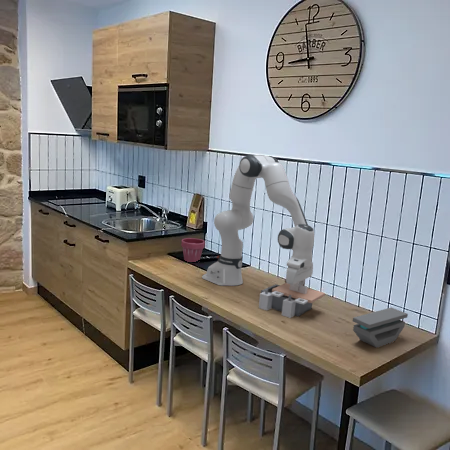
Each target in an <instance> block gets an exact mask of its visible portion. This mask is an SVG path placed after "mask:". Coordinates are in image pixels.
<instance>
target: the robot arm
mask: <svg viewBox="0 0 450 450" xmlns="http://www.w3.org/2000/svg"><path fill="white" fill-rule="evenodd" d="M257 179H263V181H264V185H265V190H266V194H267V197H268V199H269V200H270V202H272V203H273V204H275V205H277V206H280V207H282V208H284V209H285V210H287V211H288V212H289V214H290V216H291V219H292V222H293V224H294V226H293V227H288V228H283V229H281V230H280V231H279V232H278V234H277V243H278V245H279V247H280V248H282V249H285V250H292V255H291V257H290V258H289V259H288V260H287V262H286V266H287V268H286V274H285V275H286V276H285V279H286V282H287V283H288V284H291V285H294V286H295V287H294V290H295V291H298V290H299V285H303V284H304V282H305V283H306V280H307V279H309V278H311V277H312V276H313V274H314V273H313V272H314V271H313V270H314V262H313V260H312V259H313V248H314V245H315V230H314V228H313V227H312V226H310V225H309V224H308V221H307V219H306V216H305V214H304V211H303V208H302V206H301V203H300V200H299V199H298V197H297V196H296V195H295V194H294V193H293V190H292V188H291V186H290V182H289V178H288V176H287V173H286V170H285V167H284V166H283V164H282V163H280V162H279V160H278V159H277V158H276V157H274V156H272V155H271V156H270V155H265V154H257V155H256V154H253V155H252V154H248V155H245V156H243V157H242V158H241V159H240V162H239V165H238V166H237V167H236V170H235V173H234V176H233V179H232V183H231V187H230V191H229V196H228V197H229V200H230V201H231V202H232V204H231V205H232V206H231V209H230V210H229V209H228V210H223V211H220V212H219V213H218V214H216V215H215V216H214V219H213V222H214V223H213V224H214V227H215V229H216V230H217V231H218V232H219V235H220V239H221V251H220V254H218V255H217V256H216V259H217V261H215V262H214V263H212V264H211V265H209V266H208V268H207V270H206V273H204V274H203V275H202V276H201V278H202V279H203V280H205V281H208V282H209V283H210V282H211V283H213V284H215V285H218V286H232V287H233V286H240V285H242V284H243V283H244V281H243V276H242V275H243V274H242V266H243V249H244V248H243V247H244V246H243V245H244V244H243V243H244V242H243V241H242V240H241V238H240V237H239V231H241V230H245V229H247V228H249V227H250V226H252V224H253V223H254V215H253V212H251V211H252V210H251V199H252V195H253V192H254V187H255V182H256V180H257Z"/></svg>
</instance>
